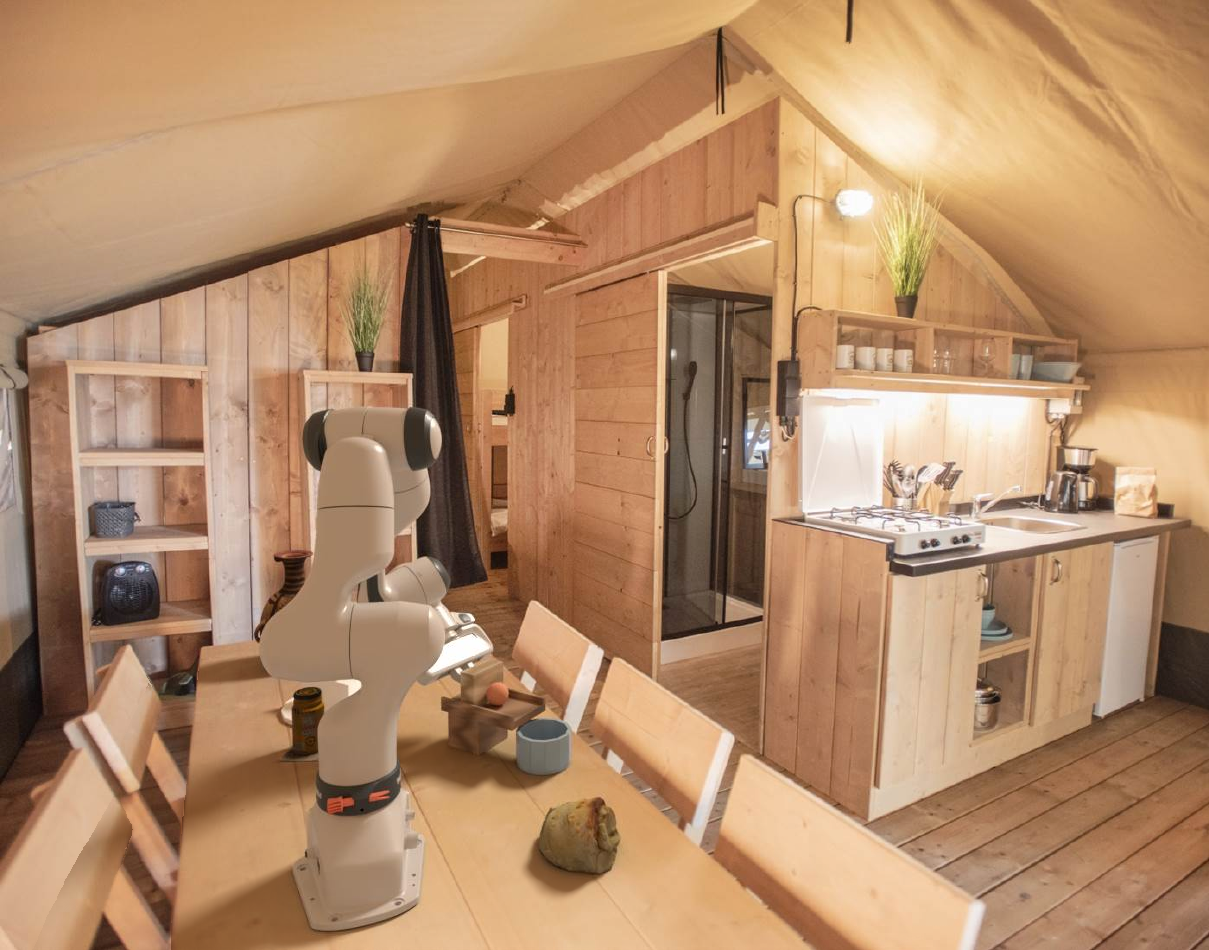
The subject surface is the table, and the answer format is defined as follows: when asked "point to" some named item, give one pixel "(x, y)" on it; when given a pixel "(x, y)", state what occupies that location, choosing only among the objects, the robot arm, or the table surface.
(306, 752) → the condiment
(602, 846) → the pastry
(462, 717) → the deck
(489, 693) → the ball
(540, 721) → the cup
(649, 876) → the table surface
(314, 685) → the dish
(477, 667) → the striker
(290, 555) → the vase
